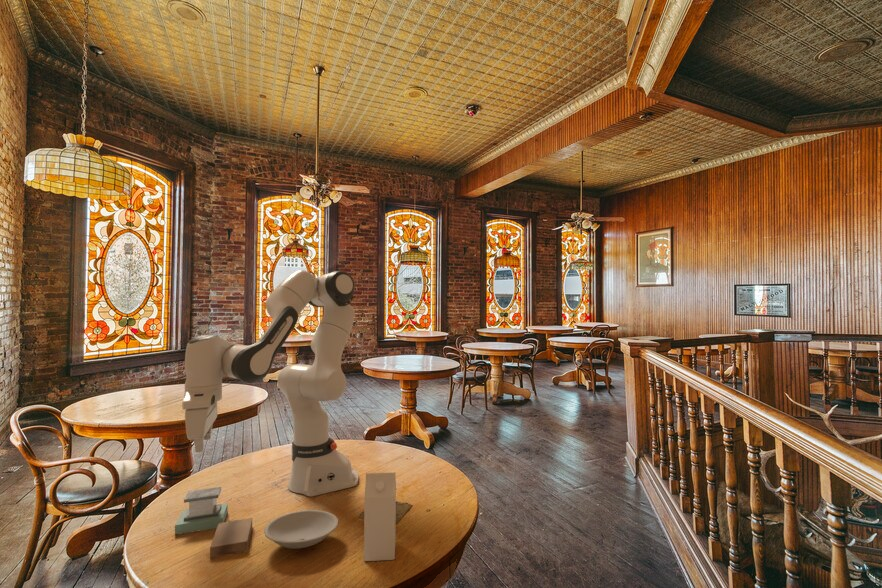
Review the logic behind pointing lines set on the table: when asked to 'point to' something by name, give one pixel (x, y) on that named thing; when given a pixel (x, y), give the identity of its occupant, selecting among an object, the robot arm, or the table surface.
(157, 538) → the table surface
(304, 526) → the dish
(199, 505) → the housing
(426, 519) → the table surface
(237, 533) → the stand
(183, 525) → the stand
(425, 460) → the table surface
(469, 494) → the table surface
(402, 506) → the speckled grey square slab
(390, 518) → the milk carton
